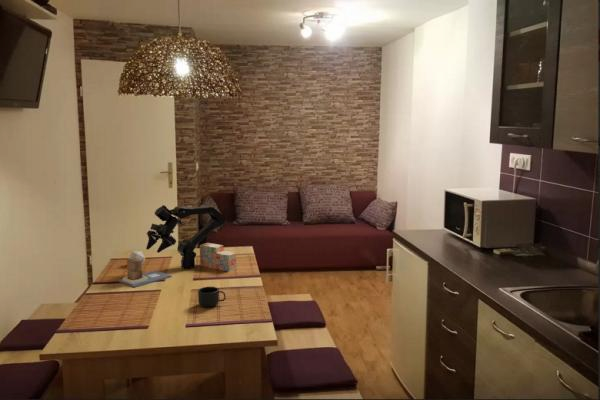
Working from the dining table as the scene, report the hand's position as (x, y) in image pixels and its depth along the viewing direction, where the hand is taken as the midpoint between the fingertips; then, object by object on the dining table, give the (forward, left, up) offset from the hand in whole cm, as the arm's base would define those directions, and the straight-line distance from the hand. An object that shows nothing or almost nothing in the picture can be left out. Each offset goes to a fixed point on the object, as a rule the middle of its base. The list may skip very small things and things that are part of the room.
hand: (152, 250), depth 263 cm
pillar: (+11, +5, -12) cm, 17 cm away
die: (+1, -24, -14) cm, 28 cm away
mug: (-7, +56, -14) cm, 58 cm away
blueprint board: (+5, +3, -14) cm, 15 cm away
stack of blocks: (-35, +5, -14) cm, 38 cm away
